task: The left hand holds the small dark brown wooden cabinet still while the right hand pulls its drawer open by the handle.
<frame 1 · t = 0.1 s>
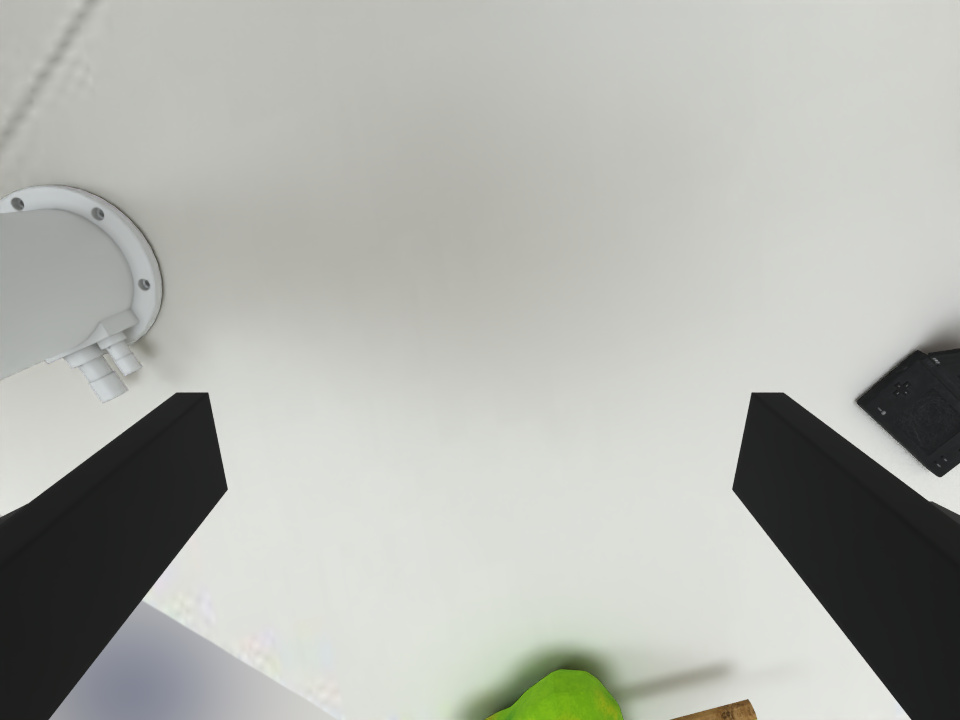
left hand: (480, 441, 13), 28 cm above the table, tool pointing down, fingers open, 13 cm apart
black angular piece: (938, 399, 43), on the table
decorative tree: (589, 697, 55), on the table
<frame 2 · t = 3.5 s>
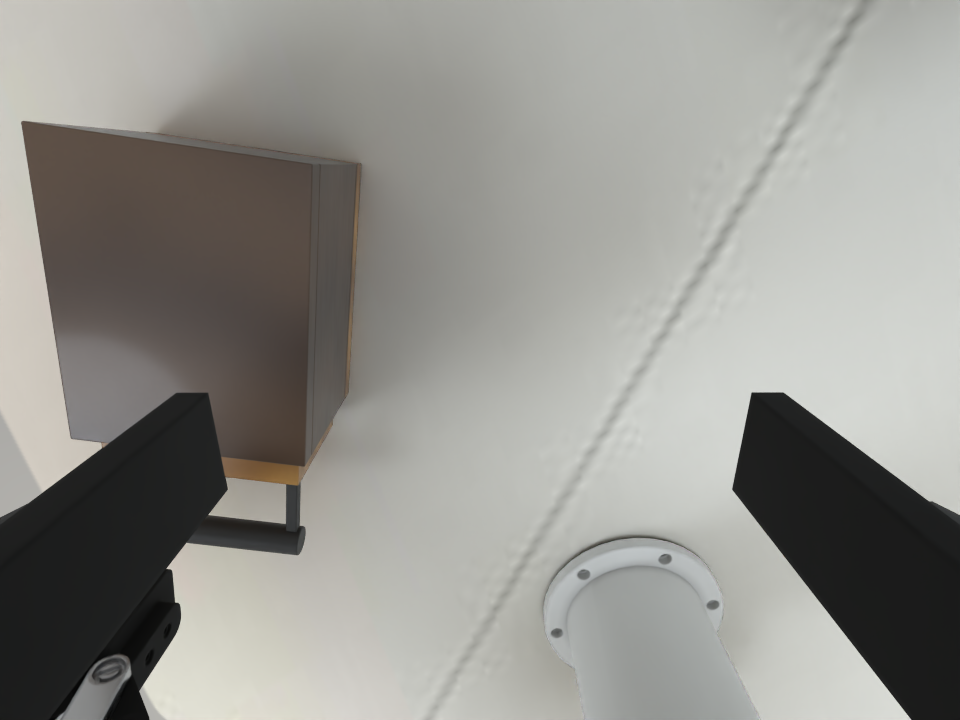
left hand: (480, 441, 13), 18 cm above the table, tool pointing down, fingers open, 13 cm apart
drawer: (229, 393, 27), point 4 cm above the table, slide at 0.6 cm
cabinet: (260, 274, 29), on the table
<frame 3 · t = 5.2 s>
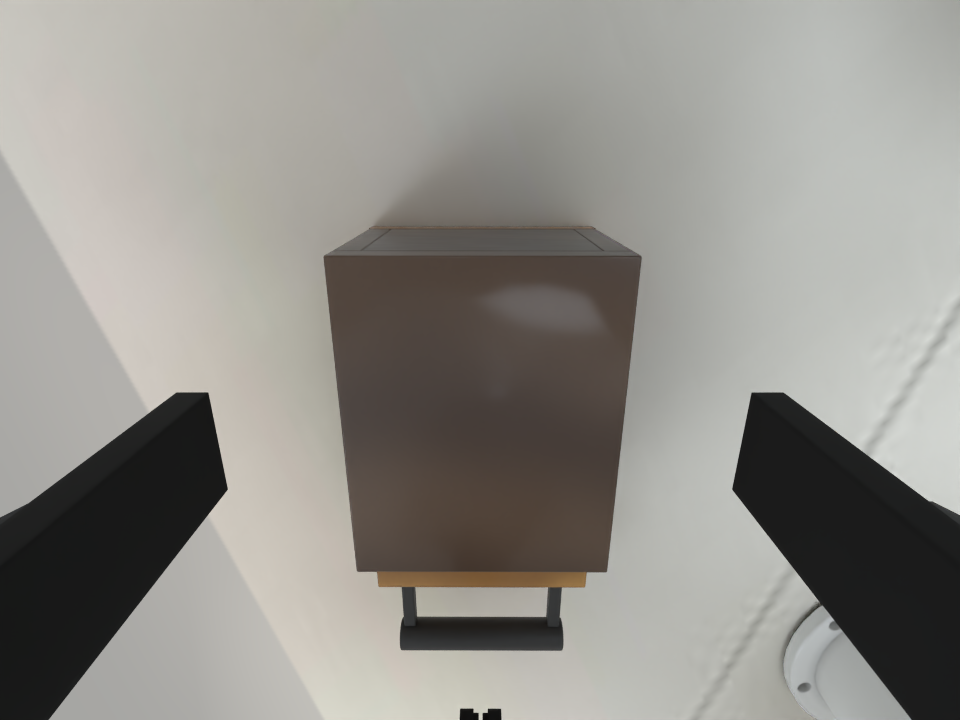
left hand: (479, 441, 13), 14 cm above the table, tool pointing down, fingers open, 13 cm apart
drawer: (481, 491, 25), point 4 cm above the table, slide at 0.6 cm
cabinet: (482, 356, 27), on the table
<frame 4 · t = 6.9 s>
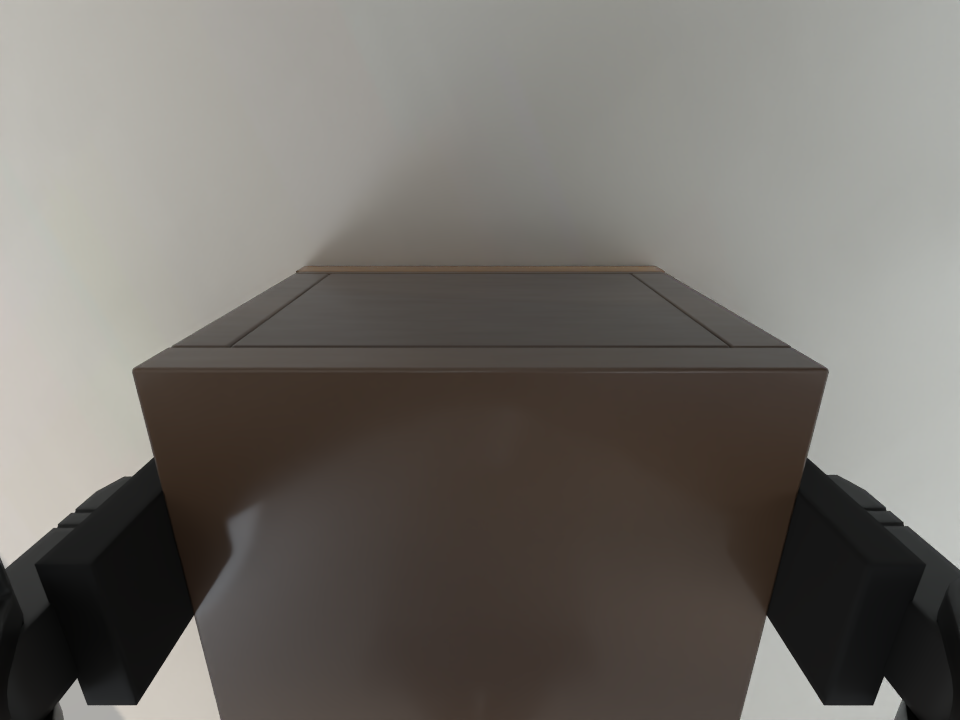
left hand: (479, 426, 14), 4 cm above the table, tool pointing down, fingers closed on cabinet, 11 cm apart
cabinet: (480, 458, 18), on the table, touching left hand
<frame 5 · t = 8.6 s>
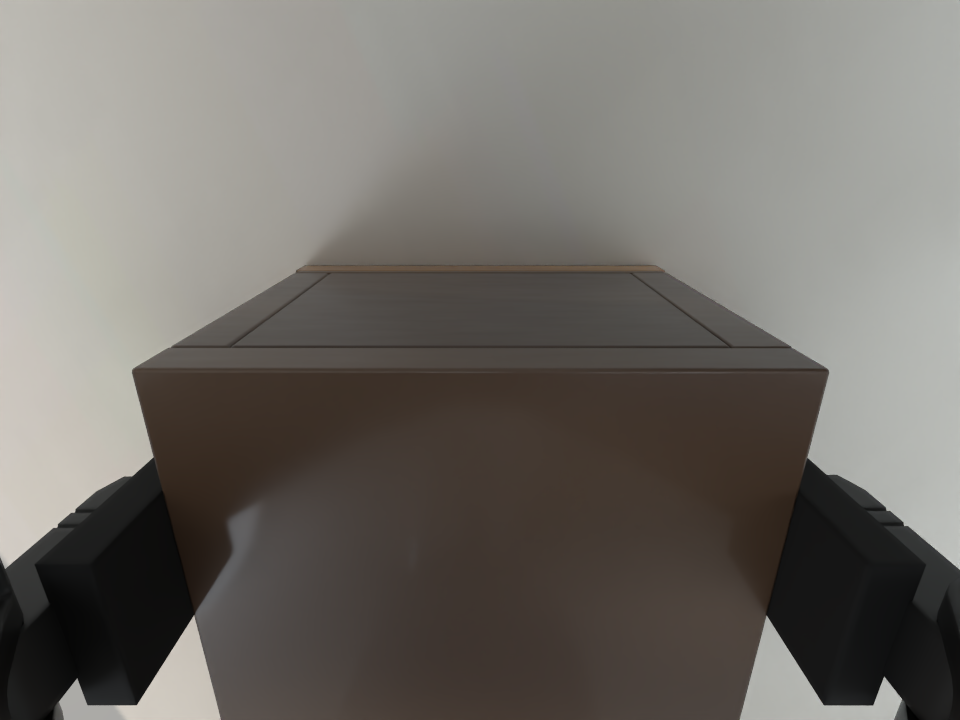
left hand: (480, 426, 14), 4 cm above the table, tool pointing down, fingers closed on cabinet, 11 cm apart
cabinet: (480, 457, 18), on the table, touching left hand
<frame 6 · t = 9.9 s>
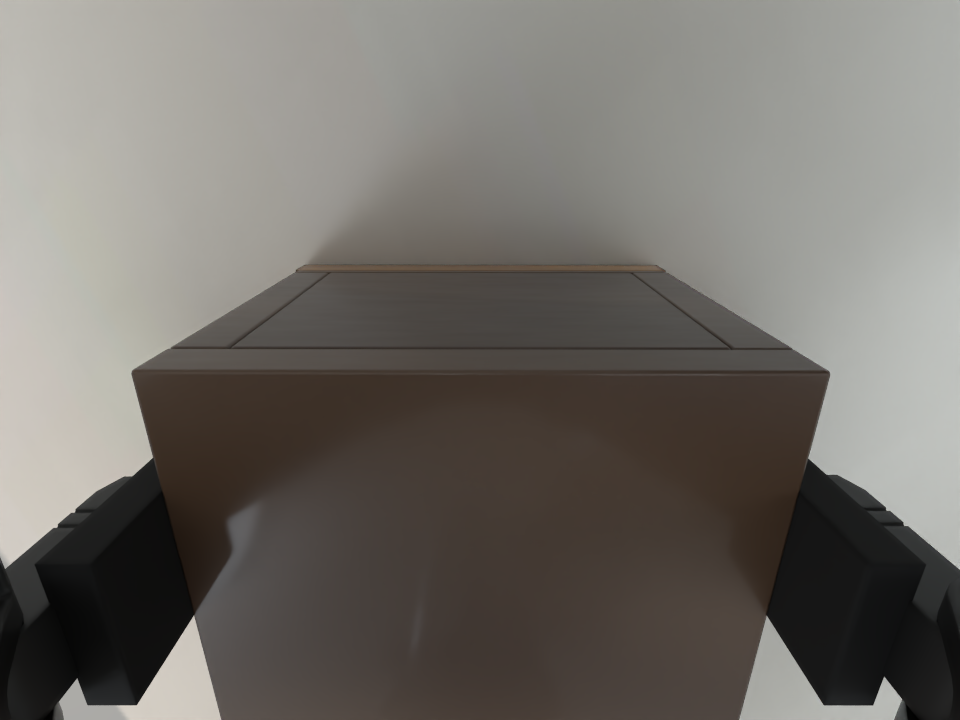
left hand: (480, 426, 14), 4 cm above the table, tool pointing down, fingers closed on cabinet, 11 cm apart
cabinet: (480, 456, 18), on the table, touching left hand
when the left hand's fingers open (4 cm above the table, at t = 11.5 s): cabinet stays where it is, on the table.
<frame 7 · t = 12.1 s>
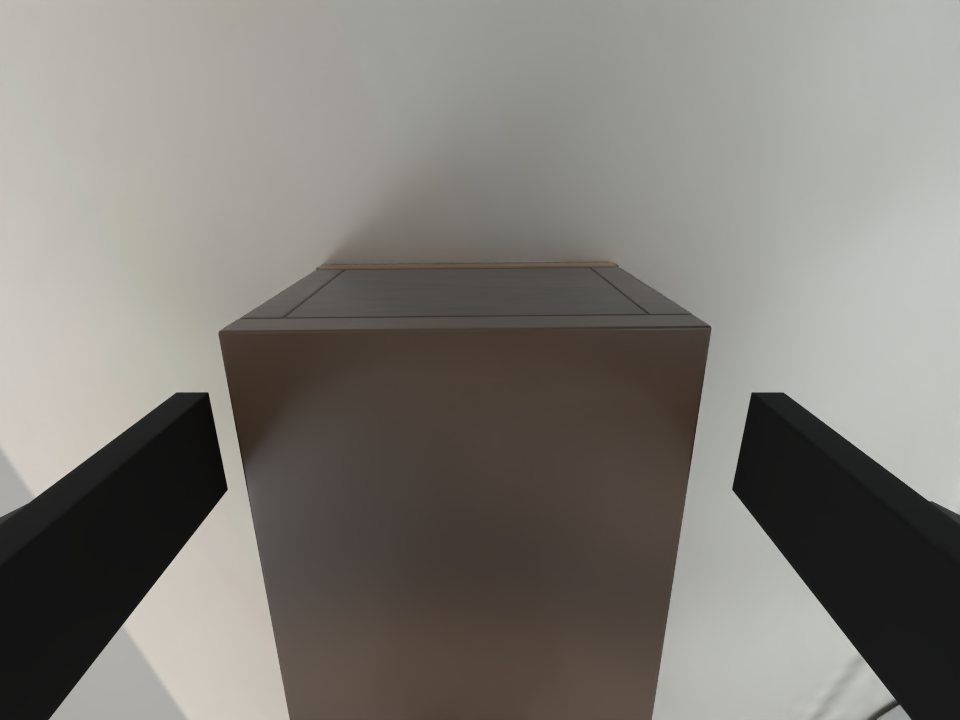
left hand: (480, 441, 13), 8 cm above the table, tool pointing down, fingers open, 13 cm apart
cabinet: (470, 426, 21), on the table
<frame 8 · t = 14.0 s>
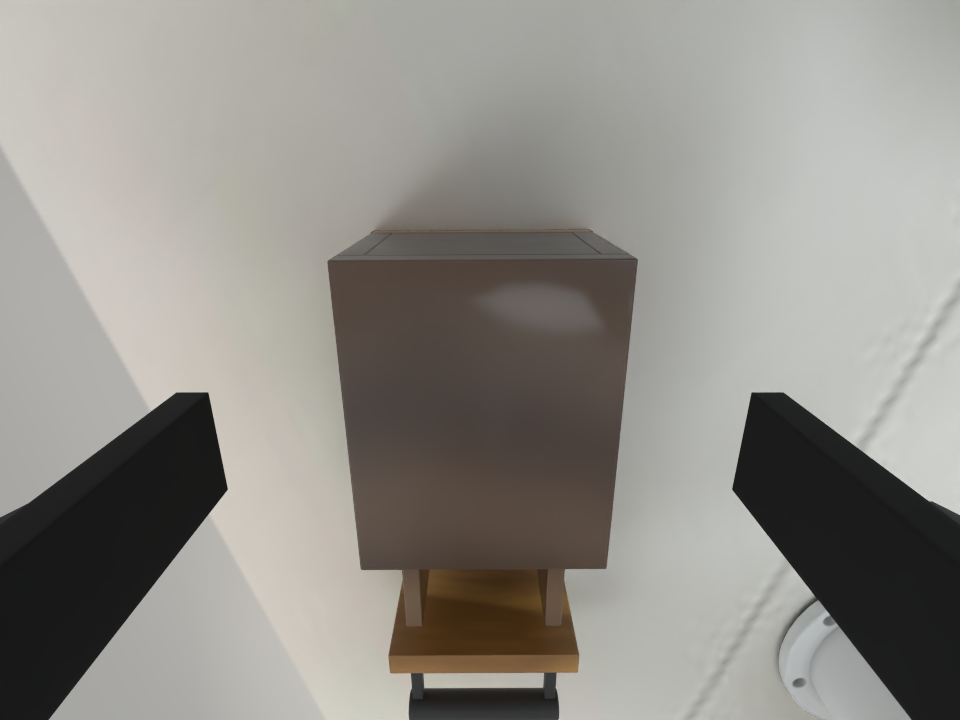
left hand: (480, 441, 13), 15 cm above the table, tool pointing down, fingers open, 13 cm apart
drawer: (483, 579, 28), point 4 cm above the table, slide at 6.2 cm
cabinet: (482, 357, 28), on the table
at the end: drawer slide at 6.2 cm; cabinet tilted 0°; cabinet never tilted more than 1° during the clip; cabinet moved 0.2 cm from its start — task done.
